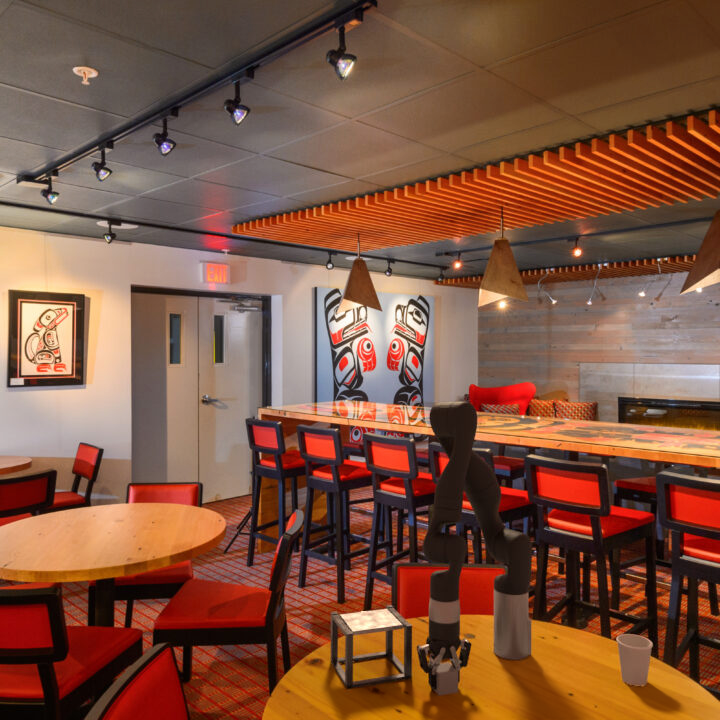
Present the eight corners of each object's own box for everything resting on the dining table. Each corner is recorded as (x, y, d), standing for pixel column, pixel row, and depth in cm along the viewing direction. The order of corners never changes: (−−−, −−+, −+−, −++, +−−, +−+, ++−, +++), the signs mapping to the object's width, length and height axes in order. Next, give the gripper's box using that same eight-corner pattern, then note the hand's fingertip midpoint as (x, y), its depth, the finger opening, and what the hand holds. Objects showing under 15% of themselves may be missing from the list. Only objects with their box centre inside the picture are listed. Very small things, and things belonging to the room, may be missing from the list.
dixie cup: (616, 685, 155) (617, 644, 155) (615, 670, 163) (615, 631, 163) (654, 692, 152) (654, 650, 152) (651, 676, 160) (651, 636, 160)
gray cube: (448, 682, 156) (448, 662, 156) (458, 692, 151) (458, 671, 151) (430, 685, 154) (430, 665, 154) (439, 695, 150) (439, 674, 150)
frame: (390, 653, 171) (391, 604, 172) (411, 678, 158) (412, 625, 158) (330, 662, 166) (330, 612, 166) (346, 689, 152) (347, 634, 152)
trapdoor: (385, 611, 170) (385, 607, 170) (402, 628, 159) (402, 624, 159) (338, 617, 166) (339, 613, 166) (352, 635, 155) (352, 631, 155)
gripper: (463, 606, 159) (463, 674, 159) (411, 613, 154) (410, 683, 154) (478, 618, 152) (477, 689, 151) (423, 625, 147) (423, 698, 147)
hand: (443, 686), depth 153 cm, fingers closed on gray cube, 5 cm apart
